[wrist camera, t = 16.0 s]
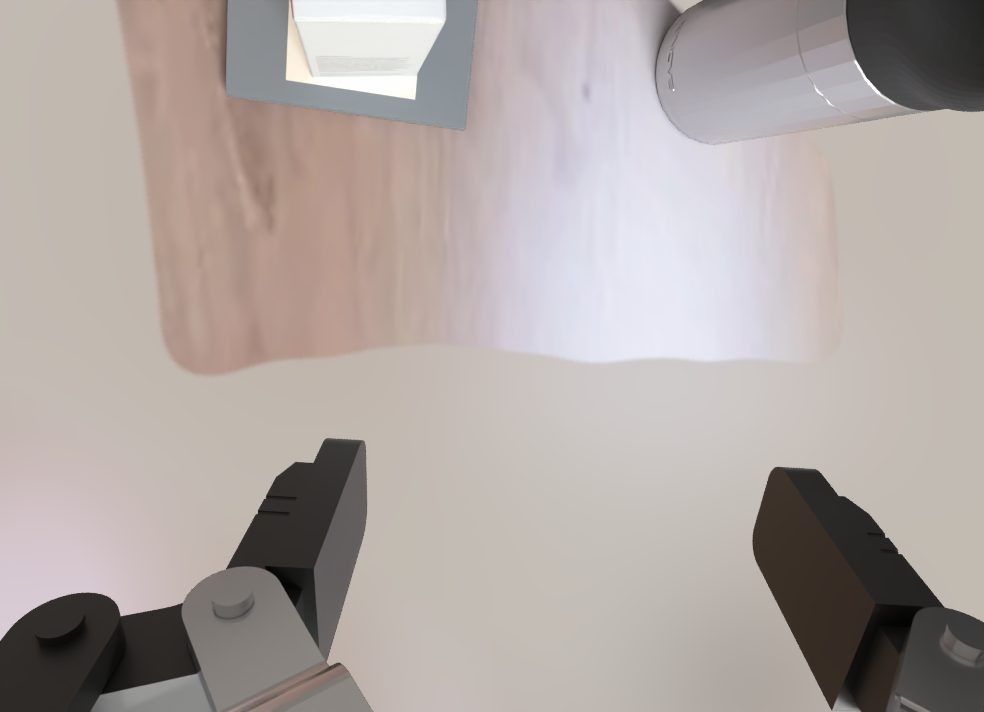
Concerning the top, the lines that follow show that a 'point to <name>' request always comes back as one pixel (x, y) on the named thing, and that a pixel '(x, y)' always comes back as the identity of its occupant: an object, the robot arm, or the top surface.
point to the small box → (367, 35)
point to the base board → (287, 79)
